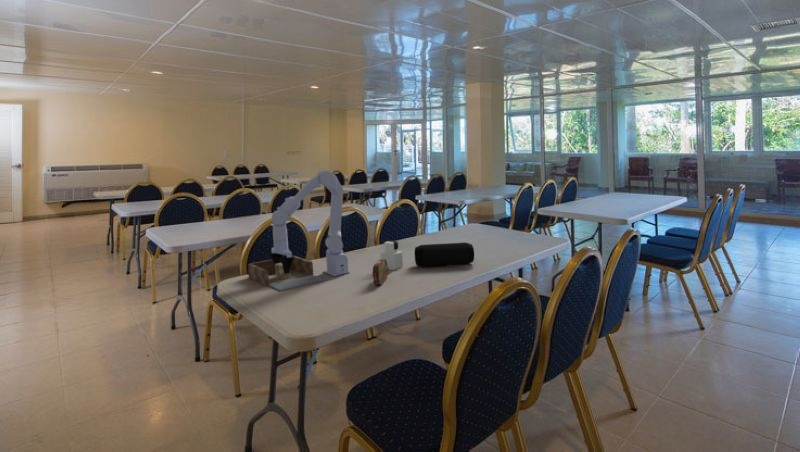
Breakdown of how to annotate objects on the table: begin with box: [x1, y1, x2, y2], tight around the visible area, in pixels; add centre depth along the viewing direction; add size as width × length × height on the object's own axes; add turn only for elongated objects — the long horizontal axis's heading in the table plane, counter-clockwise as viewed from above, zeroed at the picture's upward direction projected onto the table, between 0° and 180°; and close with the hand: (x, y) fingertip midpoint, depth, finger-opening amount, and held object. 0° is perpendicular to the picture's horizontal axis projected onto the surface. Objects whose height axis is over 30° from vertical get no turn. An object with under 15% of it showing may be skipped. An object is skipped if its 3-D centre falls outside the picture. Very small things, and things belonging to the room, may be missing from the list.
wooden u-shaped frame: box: [247, 254, 314, 287], centre depth 184 cm, size 17×21×6 cm
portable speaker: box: [414, 242, 475, 268], centre depth 195 cm, size 26×10×10 cm, turn 98°
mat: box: [269, 274, 325, 292], centre depth 174 cm, size 9×19×1 cm, turn 132°
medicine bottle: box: [380, 240, 404, 271], centre depth 193 cm, size 7×7×12 cm
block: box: [275, 263, 292, 281], centre depth 182 cm, size 4×4×6 cm
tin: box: [372, 258, 389, 286], centre depth 173 cm, size 15×3×8 cm, turn 168°
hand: (282, 271), depth 182 cm, fingers open, 7 cm apart
